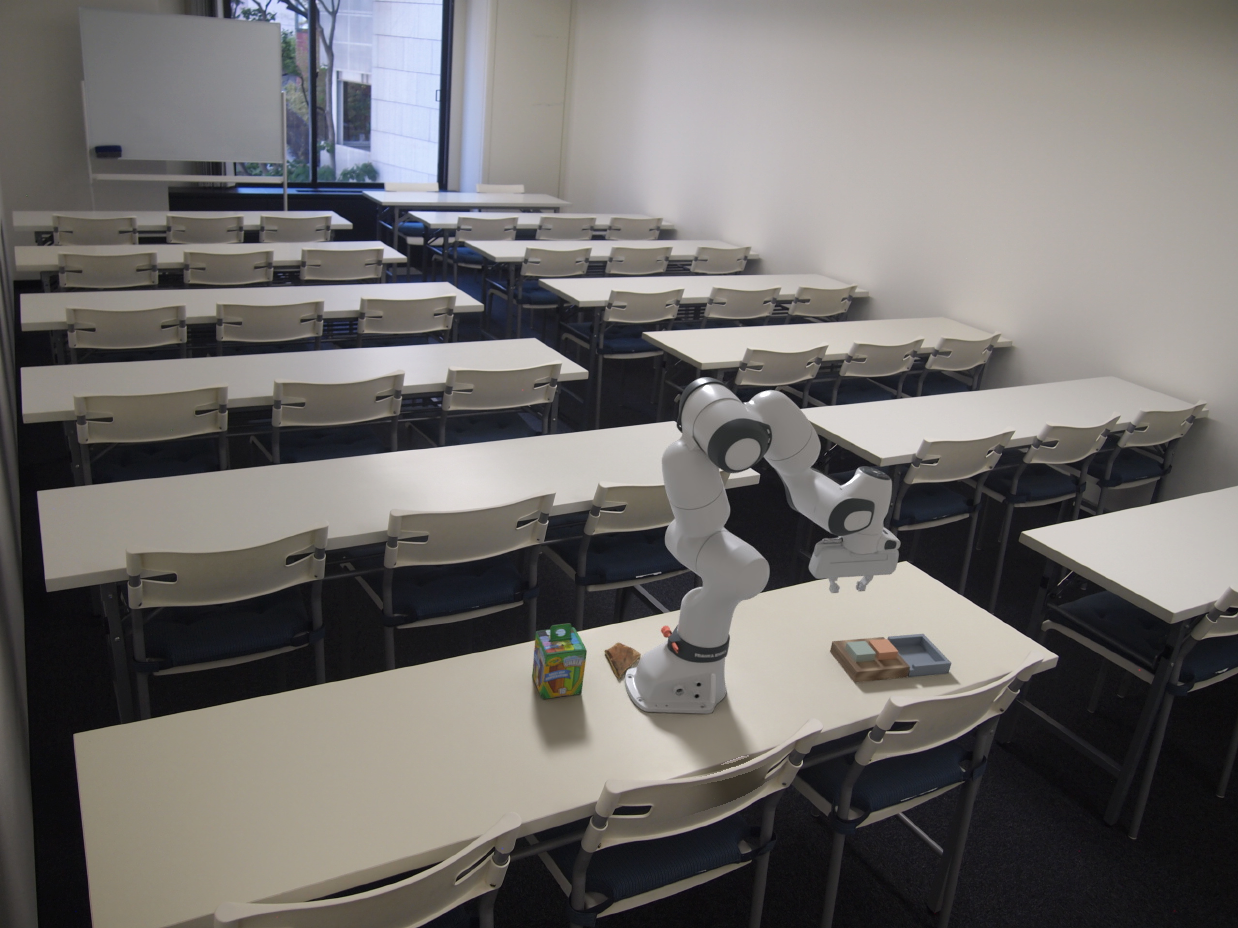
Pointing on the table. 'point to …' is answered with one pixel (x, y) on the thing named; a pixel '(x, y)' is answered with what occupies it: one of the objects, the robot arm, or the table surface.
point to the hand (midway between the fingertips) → (846, 590)
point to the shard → (621, 658)
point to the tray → (920, 655)
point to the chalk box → (559, 661)
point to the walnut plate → (868, 664)
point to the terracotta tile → (883, 649)
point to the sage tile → (860, 651)
